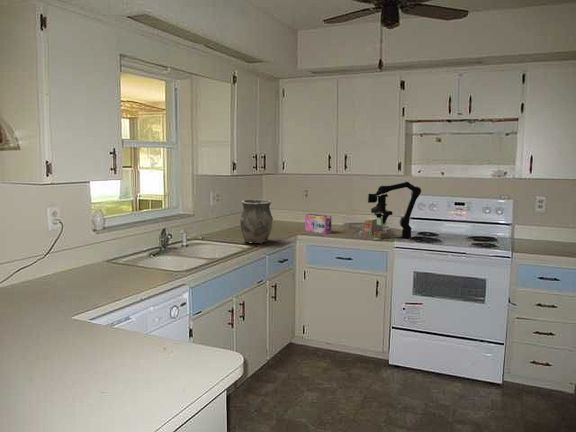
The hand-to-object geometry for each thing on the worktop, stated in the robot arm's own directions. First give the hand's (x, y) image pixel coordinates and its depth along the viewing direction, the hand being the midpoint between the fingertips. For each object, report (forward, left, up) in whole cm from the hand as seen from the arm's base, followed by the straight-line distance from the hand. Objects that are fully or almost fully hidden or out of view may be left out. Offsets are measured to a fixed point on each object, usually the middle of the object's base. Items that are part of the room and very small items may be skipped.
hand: (381, 223), depth 358 cm
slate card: (-6, +9, -11) cm, 15 cm away
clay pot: (+25, +92, -11) cm, 96 cm away
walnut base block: (0, 0, -11) cm, 11 cm away
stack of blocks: (+18, -7, -11) cm, 22 cm away
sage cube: (0, 0, -1) cm, 1 cm away
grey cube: (+7, -11, -11) cm, 17 cm away
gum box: (+45, +29, -11) cm, 54 cm away
